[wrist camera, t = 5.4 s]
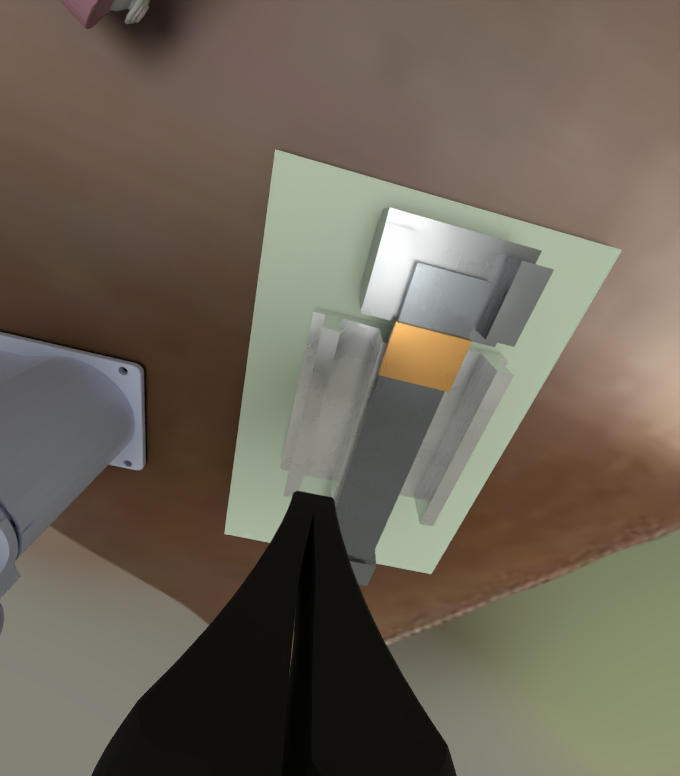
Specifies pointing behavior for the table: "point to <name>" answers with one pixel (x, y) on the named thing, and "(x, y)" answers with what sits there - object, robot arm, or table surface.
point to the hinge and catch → (460, 254)
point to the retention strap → (406, 397)
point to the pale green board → (341, 294)
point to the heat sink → (350, 399)
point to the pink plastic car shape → (105, 10)
